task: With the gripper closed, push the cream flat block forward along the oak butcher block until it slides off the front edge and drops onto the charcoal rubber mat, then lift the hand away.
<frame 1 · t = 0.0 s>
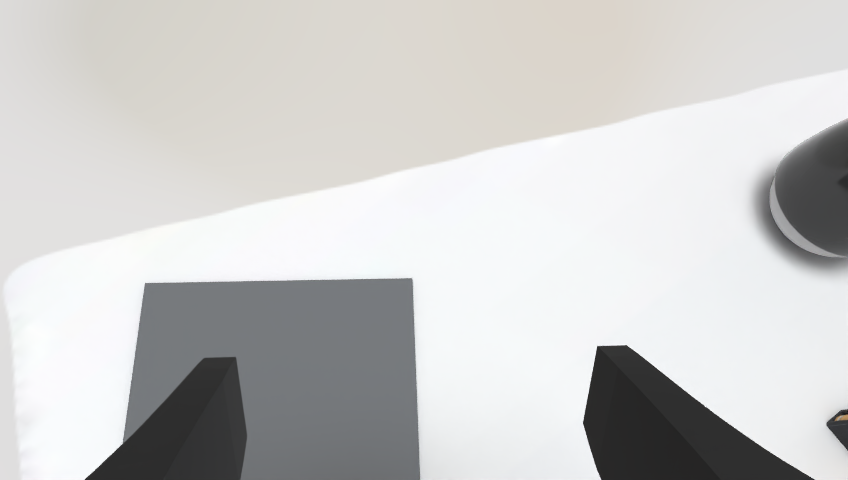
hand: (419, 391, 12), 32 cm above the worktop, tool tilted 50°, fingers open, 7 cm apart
mat: (276, 384, 43), on the worktop
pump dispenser: (804, 217, 52), on the worktop
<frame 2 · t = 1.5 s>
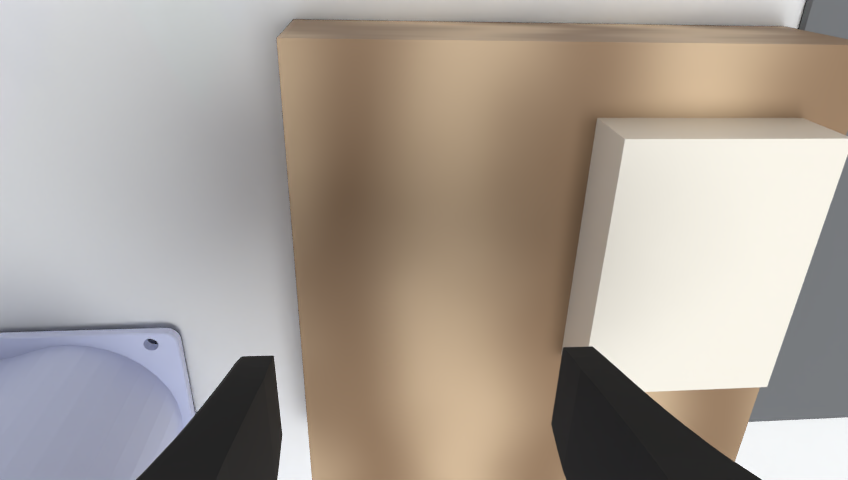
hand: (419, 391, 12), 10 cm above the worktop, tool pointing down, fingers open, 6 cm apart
butcher block: (524, 246, 23), on the worktop
cream flat block: (672, 245, 19), point 4 cm above the worktop, touching butcher block
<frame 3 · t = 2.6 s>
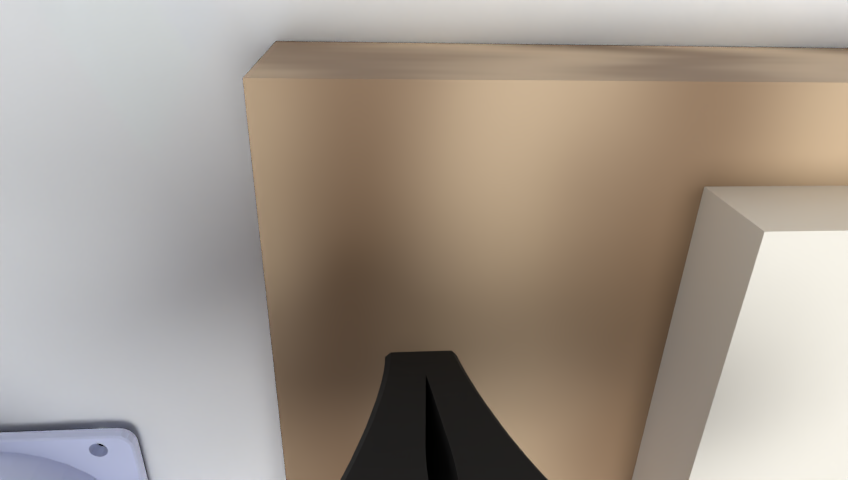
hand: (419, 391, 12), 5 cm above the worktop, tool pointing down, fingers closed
butcher block: (574, 326, 18), on the worktop
cream flat block: (790, 350, 14), point 4 cm above the worktop, touching butcher block
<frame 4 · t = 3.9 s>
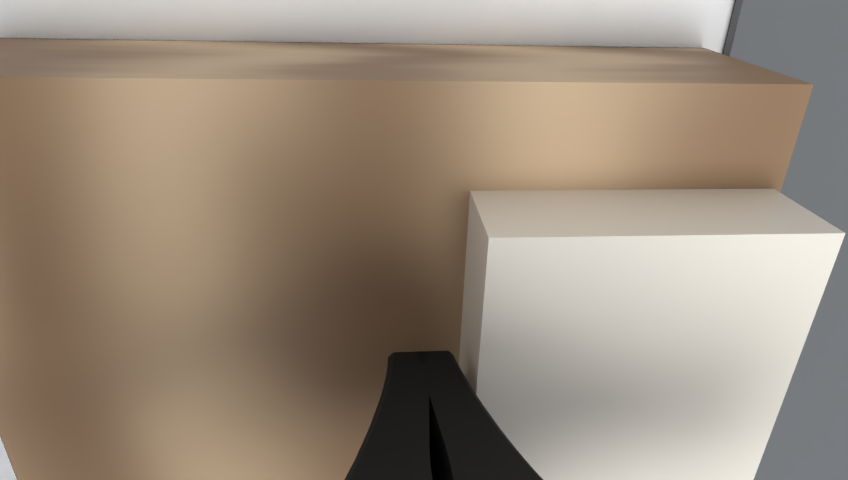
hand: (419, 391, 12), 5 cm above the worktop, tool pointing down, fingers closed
butcher block: (373, 332, 17), on the worktop
cream flat block: (593, 358, 13), point 4 cm above the worktop, touching butcher block, gripper
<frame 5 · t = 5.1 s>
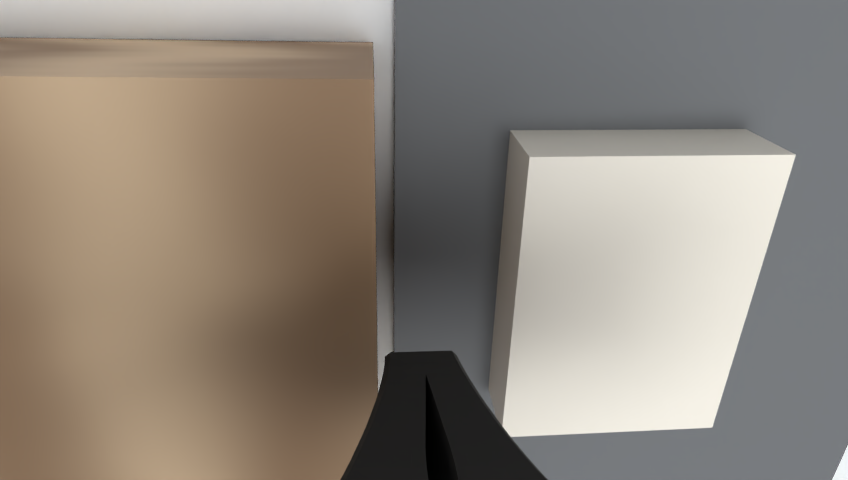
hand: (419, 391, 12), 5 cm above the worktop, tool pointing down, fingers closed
mat: (660, 296, 18), on the worktop
butcher block: (86, 339, 17), on the worktop
cream flat block: (633, 310, 15), point 2 cm above the worktop, tilted 180°, touching mat
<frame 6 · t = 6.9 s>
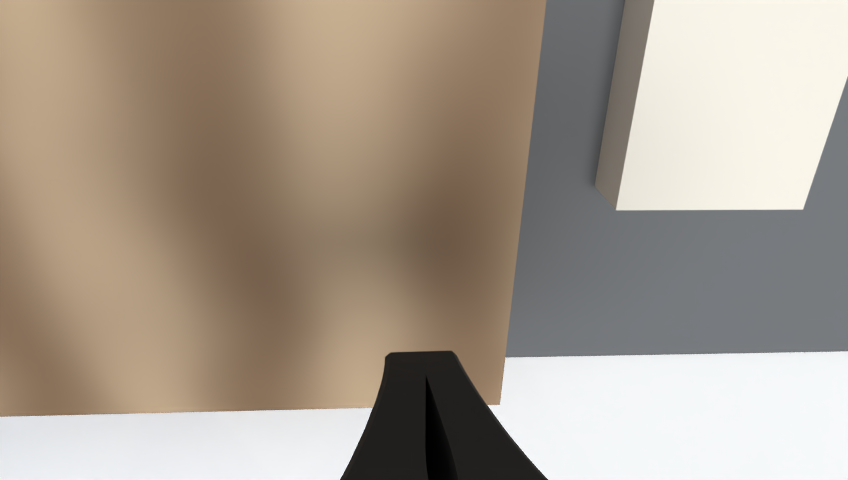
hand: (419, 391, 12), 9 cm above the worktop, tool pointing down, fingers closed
mat: (754, 97, 20), on the worktop
butcher block: (243, 121, 19), on the worktop
cream flat block: (744, 78, 17), point 2 cm above the worktop, tilted 180°, touching mat
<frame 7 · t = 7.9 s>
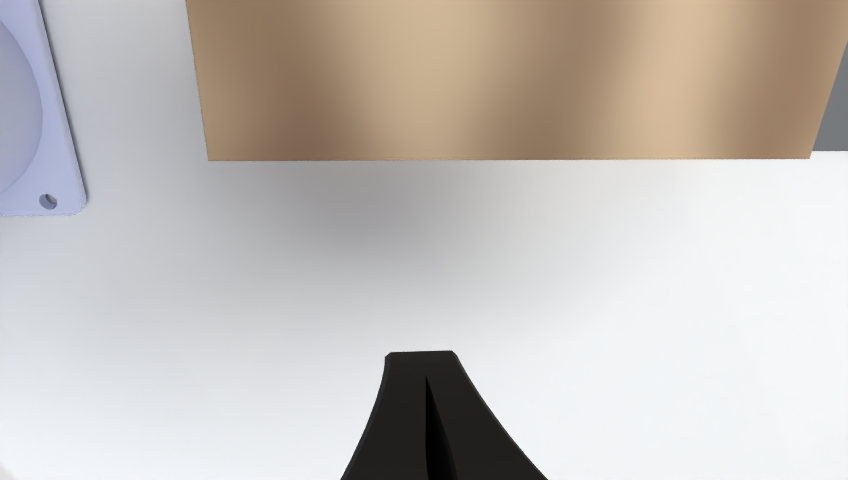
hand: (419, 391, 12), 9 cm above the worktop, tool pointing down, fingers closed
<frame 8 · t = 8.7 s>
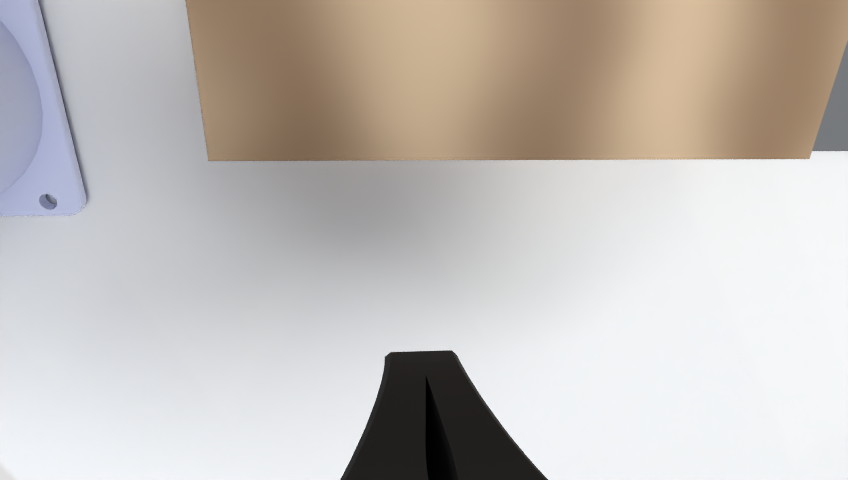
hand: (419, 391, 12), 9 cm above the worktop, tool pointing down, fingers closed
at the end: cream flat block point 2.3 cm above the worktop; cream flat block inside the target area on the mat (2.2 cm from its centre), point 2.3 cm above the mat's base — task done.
